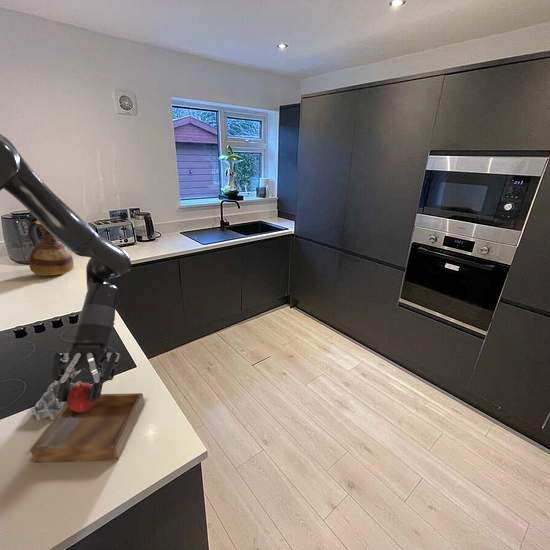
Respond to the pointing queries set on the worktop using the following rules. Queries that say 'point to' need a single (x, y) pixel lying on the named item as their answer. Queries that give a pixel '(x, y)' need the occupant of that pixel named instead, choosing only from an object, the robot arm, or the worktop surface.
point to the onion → (80, 397)
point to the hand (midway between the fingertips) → (78, 401)
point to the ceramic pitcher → (48, 253)
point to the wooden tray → (90, 431)
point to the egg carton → (50, 403)
